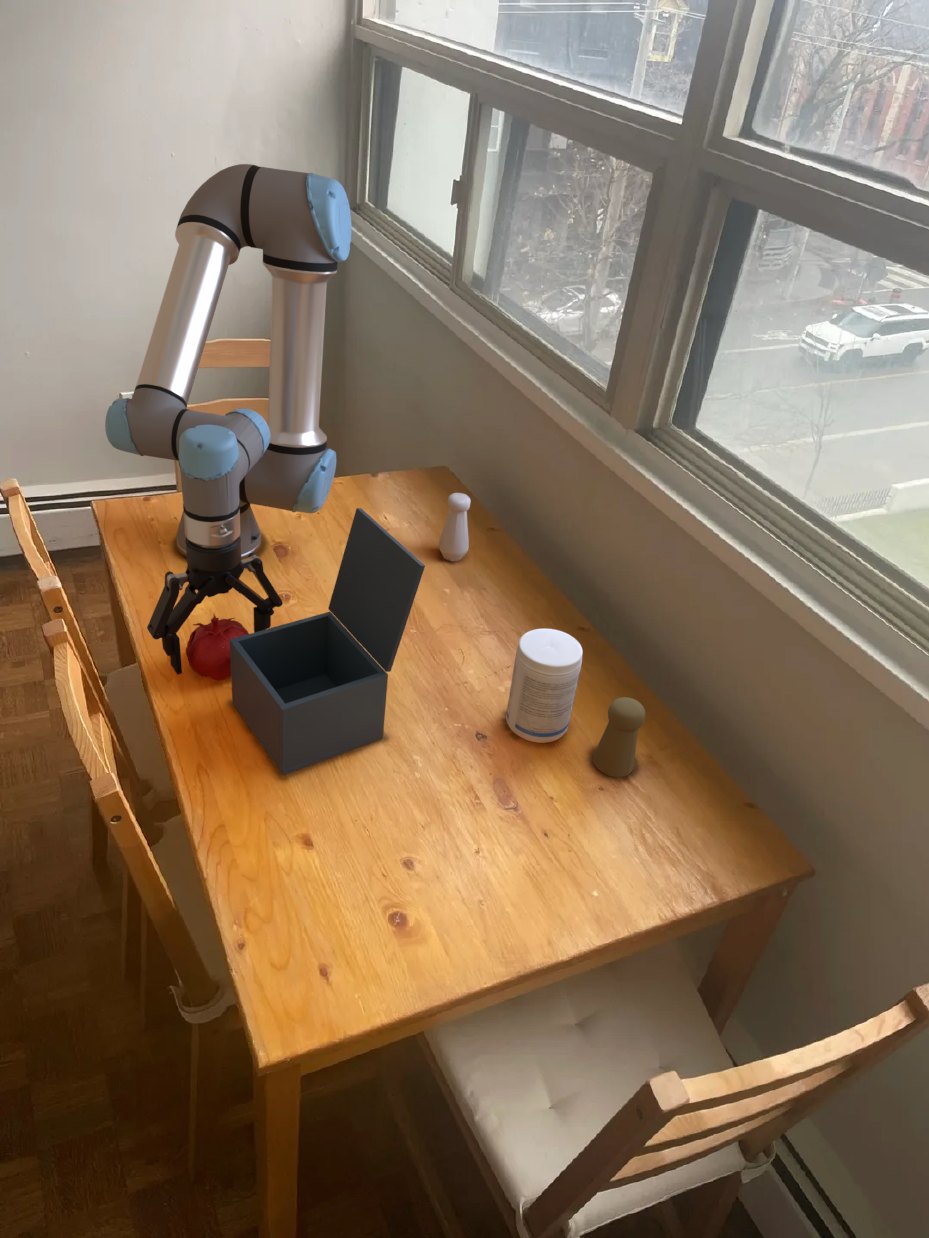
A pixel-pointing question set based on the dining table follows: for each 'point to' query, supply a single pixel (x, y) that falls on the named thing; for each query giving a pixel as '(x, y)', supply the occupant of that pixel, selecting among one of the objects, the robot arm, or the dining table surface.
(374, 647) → the lid
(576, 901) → the dining table surface
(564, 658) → the supplement tub
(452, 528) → the salt shaker
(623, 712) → the olive brown pawn
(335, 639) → the box
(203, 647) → the red tomato
